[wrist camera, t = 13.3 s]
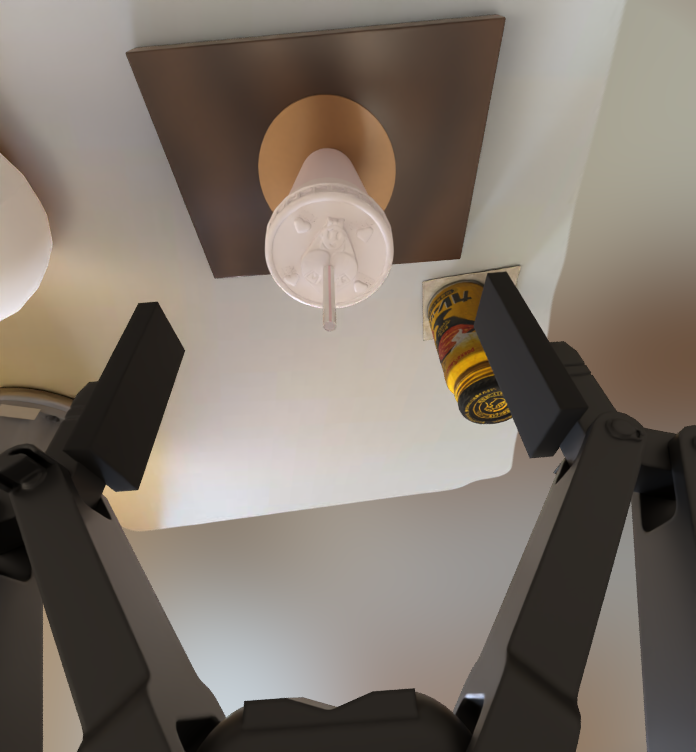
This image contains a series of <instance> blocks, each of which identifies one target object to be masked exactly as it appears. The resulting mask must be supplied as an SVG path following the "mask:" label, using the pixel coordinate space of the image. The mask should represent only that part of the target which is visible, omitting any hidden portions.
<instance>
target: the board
mask: <svg viewBox="0 0 696 752" xmlns="http://www.w3.org/2000/svg"><path fill="white" fill-rule="evenodd" d="M505 20H506V18H505V17H503V16H500V15H497V14H494V15H483V16H472V17H462V18H451V19H440V20H429V21H418V22H408V23H397V24H386V25H375V26H365V27H354V28H343V29H332V30H321V31H311V32H300V33H289V34H278V35H268V36H257V37H246V38H235V39H224V40H214V41H203V42H192V43H181V44H171V45H160V46H149V47H138V48H134V49H132V50H130V51H128V52H126V56H127V58H128V61H129V63H130V66H131V68H132V71H133V73H134V76H135V78H136V81H137V83H138V86H139V88H140V91H141V94H142V96H143V99H144V101H145V104H146V106H147V109H148V111H149V114H150V116H151V119H152V121H153V124H154V126H155V129H156V131H157V134H158V136H159V139H160V142H161V144H162V147H163V149H164V152H165V154H166V157H167V159H168V162H169V164H170V167H171V169H172V172H173V174H174V177H175V179H176V182H177V184H178V187H179V190H180V192H181V195H182V197H183V200H184V202H185V205H186V207H187V210H188V212H189V215H190V217H191V220H192V222H193V225H194V227H195V230H196V232H197V235H198V238H199V240H200V243H201V245H202V248H203V250H204V253H205V255H206V258H207V260H208V263H209V265H210V268H211V270H212V273H213V275H214V278H215V279H218V278H230V277H243V276H255V275H267V274H271V273H270V271H269V269H268V266H267V262H266V257H265V238H266V231H267V225H268V223H269V220H270V218H271V216H272V214H273V212H274V210H275V209H276V208H277V206H278V205H279V204H280V203H281V202H282V201H283V200H284V199H285V198H286V197H287V196H288V195H289V193H290V191H291V189H292V187H293V184H294V182H295V180H296V178H297V176H298V174H299V172H300V169H301V167H302V165H303V163H304V161H305V160H306V158H307V157H308V156H309V155H310V154H312V153H313V152H315V151H317V150H319V149H323V148H331V149H336V150H338V151H340V152H342V153H343V154H345V155H346V156H347V157H348V158H349V160H350V161H351V162H352V164H353V166H354V168H355V170H356V172H357V174H358V176H359V178H360V180H361V182H362V184H363V186H364V188H365V190H366V192H367V194H368V196H370V197H371V198H373V199H374V201H375V202H376V203H377V204H378V205H379V206H380V207H381V208H382V210H383V211H384V213H385V215H386V217H387V219H388V221H389V223H390V225H391V231H392V237H393V247H394V255H393V262H392V264H404V263H416V262H428V261H441V260H453V259H460V258H461V253H462V248H463V242H464V237H465V232H466V226H467V221H468V216H469V211H470V205H471V200H472V195H473V189H474V184H475V179H476V173H477V168H478V163H479V158H480V152H481V147H482V142H483V136H484V131H485V126H486V121H487V115H488V110H489V105H490V99H491V94H492V89H493V83H494V78H495V73H496V68H497V62H498V57H499V52H500V46H501V41H502V36H503V30H504V25H505Z"/></svg>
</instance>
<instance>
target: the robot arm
mask: <svg viewBox="0 0 696 752" xmlns="http://www.w3.org/2000/svg"><path fill="white" fill-rule="evenodd" d="M474 328H475V331H476V333H477V335H478V338H479V340H480V342H481V345H482V347H483V349H484V352H485V354H486V356H487V359H488V361H489V364H490V366H491V368H492V371H493V373H494V375H495V378H496V380H497V382H498V385H499V387H500V389H501V392H502V394H503V396H504V399H505V401H506V403H507V406H508V408H509V410H510V413H511V415H512V418H513V420H514V422H515V425H516V427H517V429H518V432H519V434H520V436H521V439H522V441H523V443H524V446H525V448H526V450H527V453H528V455H529V457H530V458H539V457H550V456H554V454H555V453H556V451H557V450H558V449H559V447H560V448H561V450H562V452H563V454H564V456H565V458H564V460H563V461H562V462H561V463H560V465H559V466H558V467H557V468H556V470H555V471H554V473H555V474H556V477H555V479H554V481H553V484H552V486H551V488H550V491H549V493H548V496H547V498H546V500H545V503H544V505H543V507H542V510H541V512H540V515H539V517H538V520H537V522H536V524H535V527H534V529H533V531H532V534H531V536H530V538H529V541H528V543H527V546H526V548H525V550H524V553H523V555H522V558H521V560H520V562H519V565H518V567H517V569H516V572H515V574H514V577H513V579H512V581H511V584H510V586H509V588H508V591H507V593H506V596H505V598H504V600H503V603H502V605H501V607H500V610H499V612H498V615H497V617H496V619H495V622H494V624H493V626H492V629H491V631H490V634H489V636H488V638H487V641H486V643H485V646H484V648H483V650H482V653H481V655H480V657H479V659H478V661H477V662H476V664H475V665H474V667H473V668H472V670H471V672H470V674H469V676H468V678H467V680H466V682H465V684H464V687H463V689H462V691H461V694H460V696H459V698H458V701H457V703H456V705H455V708H454V710H453V712H452V711H450V710H449V709H448V708H447V707H446V706H444V705H443V704H441V703H440V702H438V701H436V700H435V699H433V698H431V697H429V696H427V695H425V694H422V693H418V692H415V689H414V688H413V689H399V690H386V691H373V692H371V693H368V694H366V695H364V696H362V697H359V698H357V699H355V700H352V701H350V702H348V703H346V704H343V705H341V706H339V707H335V706H332V705H328V704H324V703H321V702H317V701H314V700H310V699H307V698H303V697H301V698H300V697H299V698H279V699H265V700H253V701H244V707H242V708H240V709H238V710H236V711H235V712H233V713H231V714H230V715H229V716H228V717H225V715H224V713H223V711H222V709H221V707H220V705H219V703H218V701H217V700H216V698H215V696H214V695H213V693H212V692H211V691H210V689H209V688H208V687H207V686H206V685H205V684H204V683H203V682H202V681H201V680H200V679H199V677H198V676H197V674H196V672H195V671H194V669H193V667H192V665H191V663H190V661H189V659H188V657H187V655H186V653H185V651H184V649H183V647H182V645H181V643H180V641H179V639H178V637H177V635H176V633H175V631H174V630H173V627H172V625H171V624H170V622H169V620H168V618H167V616H166V614H165V612H164V610H163V608H162V606H161V604H160V602H159V600H158V598H157V596H156V594H155V592H154V590H153V588H152V586H151V584H150V582H149V580H148V578H147V576H146V575H145V572H144V570H143V569H142V567H141V565H140V563H139V561H138V559H137V557H136V555H135V553H134V551H133V549H132V547H131V545H130V543H129V541H128V539H127V537H126V535H125V533H124V531H123V530H122V527H121V525H120V523H119V521H118V519H117V517H116V516H115V514H114V512H113V510H112V508H111V506H110V504H109V502H108V500H107V498H106V497H105V496H104V495H103V494H102V493H103V490H104V488H105V485H107V486H109V487H110V488H111V489H113V490H114V491H115V492H119V491H132V490H138V489H139V486H140V483H141V480H142V477H143V474H144V471H145V468H146V465H147V462H148V459H149V456H150V453H151V451H152V448H153V445H154V442H155V439H156V436H157V433H158V430H159V427H160V424H161V421H162V418H163V415H164V412H165V409H166V406H167V403H168V400H169V397H170V394H171V391H172V388H173V385H174V382H175V379H176V376H177V373H178V370H179V367H180V364H181V361H182V358H183V355H184V352H185V350H184V348H183V346H182V344H181V342H180V341H179V339H178V337H177V335H176V334H175V332H174V330H173V328H172V326H171V325H170V323H169V321H168V319H167V318H166V316H165V314H164V312H163V310H162V309H161V307H160V305H159V303H158V302H148V303H138V305H137V307H136V309H135V311H134V313H133V315H132V317H131V319H130V321H129V323H128V325H127V327H126V328H125V330H124V332H123V334H122V336H121V338H120V340H119V342H118V344H117V346H116V348H115V350H114V352H113V354H112V355H111V357H110V359H109V361H108V363H107V365H106V367H105V369H104V371H103V373H102V375H101V377H100V379H99V381H97V382H89V383H88V384H87V385H86V386H85V387H84V388H83V389H82V390H81V391H80V392H79V393H78V394H77V395H76V397H75V399H74V400H73V399H70V398H67V397H64V396H61V395H57V394H54V393H50V392H45V391H40V390H34V389H25V388H1V389H0V752H43V605H44V608H45V611H46V614H47V617H48V620H49V624H50V627H51V630H52V633H53V637H54V640H55V643H56V646H57V649H58V652H59V655H60V659H61V662H62V665H63V668H64V672H65V674H66V678H67V681H68V684H69V687H70V691H71V694H72V697H73V700H74V703H75V706H76V710H77V713H78V716H79V719H80V722H81V726H82V730H83V741H82V743H81V745H80V747H79V749H78V751H77V752H576V748H577V744H578V739H579V734H580V729H581V715H580V712H579V708H578V705H577V697H578V692H579V687H580V684H581V680H582V677H583V673H584V669H585V666H586V662H587V658H588V655H589V651H590V648H591V644H592V640H593V637H594V632H595V629H596V626H597V622H598V618H599V614H600V611H601V607H602V604H603V600H604V597H605V593H606V589H607V585H608V582H609V578H610V574H611V571H612V567H613V564H614V560H615V557H616V553H617V549H618V546H619V542H620V538H621V534H622V531H623V527H624V524H625V520H626V517H627V513H628V509H629V506H630V502H631V504H632V519H633V535H634V551H635V567H636V582H637V598H638V614H639V631H640V646H641V662H642V677H643V693H644V710H645V726H646V742H647V752H696V425H692V426H687V427H684V428H683V429H682V430H681V431H680V432H679V433H678V434H674V433H668V432H663V431H658V430H652V429H647V428H644V427H643V426H642V425H641V424H640V423H639V422H638V421H636V420H635V419H634V418H632V417H630V416H628V415H627V414H624V413H620V412H617V411H616V409H615V408H614V407H613V405H612V404H611V402H610V401H609V399H608V398H607V396H606V394H605V393H604V392H603V390H602V388H601V387H600V386H599V384H598V382H597V381H596V379H595V378H594V376H593V375H591V372H590V370H589V369H588V367H587V366H586V365H584V361H583V360H582V358H581V357H580V355H579V354H578V352H577V351H576V350H575V349H573V348H572V347H571V346H569V345H568V344H567V343H566V342H564V341H561V342H549V341H548V339H547V337H546V336H545V334H544V332H543V331H542V329H541V327H540V326H539V324H538V322H537V321H536V319H535V317H534V316H533V314H532V313H531V311H530V309H529V308H528V306H527V304H526V303H525V301H524V299H523V298H522V296H521V294H520V293H519V291H518V289H517V288H516V286H515V284H514V283H513V281H512V280H511V278H510V276H509V275H508V273H507V271H505V272H494V273H487V276H486V279H485V283H484V287H483V291H482V295H481V299H480V303H479V307H478V311H477V314H476V318H475V322H474Z"/></svg>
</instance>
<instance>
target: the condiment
mask: <svg viewBox="0 0 696 752" xmlns="http://www.w3.org/2000/svg"><path fill="white" fill-rule="evenodd" d="M505 271H507V273H508V275H509V276H510V278H511V280H512V281H513V283H514V284H515V286H516V285H517V279H518V276H519V271H520V266H515V267H511V268H503V269H499V270H492V271H486V272H479V273H471V274H463V275H458V276H451V277H445V278H440V279H433V280H428V281H425V282H423V341H425V340H431V339H434V341H435V345H436V349H437V352H438V355H439V359H440V363H441V365H442V368H443V372H444V377H445V381H446V384H447V386H448V388H449V390H450V391H451V392H452V393H453V394H454V396H455V399H456V401H457V402H458V406H459V410H460V412H461V414H462V415H463V416H464V417H465V418H466V419H468V420H469V421H471V422H474V423H478V424H495V423H500V422H504V421H507V420H509V419H511V418H512V415H511V413H510V410H509V408H508V406H507V403H506V401H505V399H504V396H503V394H502V392H501V389H500V387H499V385H498V382H497V380H496V378H495V375H494V373H493V371H492V368H491V366H490V364H489V361H488V359H487V356H486V354H485V352H484V349H483V347H482V345H481V342H480V340H479V338H478V335H477V333H476V331H475V328H474V322H475V318H476V314H477V311H478V307H479V303H480V299H481V295H482V291H483V287H484V283H485V279H486V276H487V273H494V272H505Z"/></svg>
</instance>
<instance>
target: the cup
mask: <svg viewBox="0 0 696 752" xmlns="http://www.w3.org/2000/svg"><path fill="white" fill-rule="evenodd" d="M52 245H53V241H52V237H51V232H50V227H49V222H48V217H47V214H46V212H45V210H44V208H43V206H42V204H41V202H40V200H39V199H38V197H37V196H36V194H35V192H34V191H33V189H32V188H31V186H30V185H29V183H28V181H27V180H26V178H25V177H24V175H23V174H22V173H21V172H20V171H19V170H18V169H17V168H16V167H14V166H13V165H12V164H11V163H10V162H9V161H8V160H7V159H6V158H5V157H4V156H3V155H2V154H1V153H0V321H2V320H3V319H5V318H7V317H9V316H11V315H12V314H14V313H16V312H18V311H19V310H20V309H21V308H22V307H23V305H24V304H25V303H26V302H27V301H28V299H29V298H30V297H31V296H32V295H33V294H34V292H35V291H36V290H37V289H38V288H39V285H40V283H41V281H42V278H43V276H44V274H45V272H46V269H47V267H48V264H49V259H50V254H51V250H52Z"/></svg>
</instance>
